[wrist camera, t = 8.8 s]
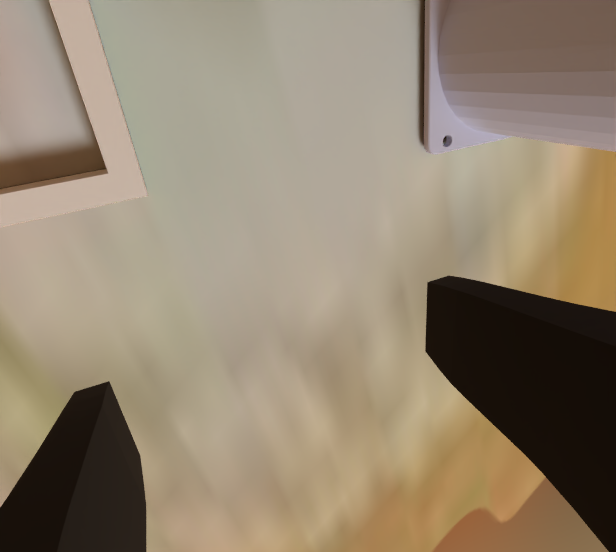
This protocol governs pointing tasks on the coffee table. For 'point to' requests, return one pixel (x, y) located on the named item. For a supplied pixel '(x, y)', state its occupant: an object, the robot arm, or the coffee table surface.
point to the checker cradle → (106, 124)
